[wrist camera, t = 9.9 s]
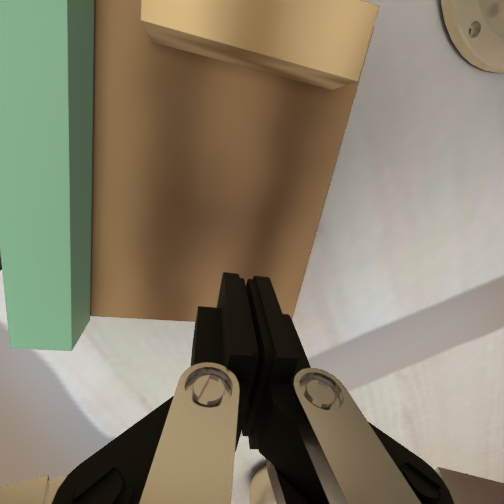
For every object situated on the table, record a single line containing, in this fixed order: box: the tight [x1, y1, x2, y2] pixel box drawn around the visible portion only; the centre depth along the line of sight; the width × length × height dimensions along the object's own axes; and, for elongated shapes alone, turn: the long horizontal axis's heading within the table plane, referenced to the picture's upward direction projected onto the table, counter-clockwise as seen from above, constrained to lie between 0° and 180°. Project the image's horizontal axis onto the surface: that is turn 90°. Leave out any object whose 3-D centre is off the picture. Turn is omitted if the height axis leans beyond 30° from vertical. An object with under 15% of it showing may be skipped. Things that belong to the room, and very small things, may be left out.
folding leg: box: [0, 0, 94, 351], centre depth 14 cm, size 19×3×3 cm, turn 168°
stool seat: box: [0, 0, 379, 322], centre depth 17 cm, size 19×20×6 cm
